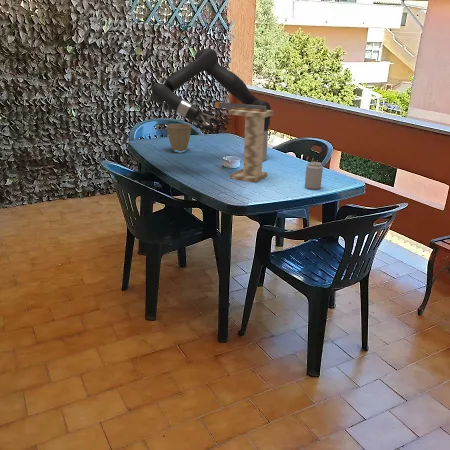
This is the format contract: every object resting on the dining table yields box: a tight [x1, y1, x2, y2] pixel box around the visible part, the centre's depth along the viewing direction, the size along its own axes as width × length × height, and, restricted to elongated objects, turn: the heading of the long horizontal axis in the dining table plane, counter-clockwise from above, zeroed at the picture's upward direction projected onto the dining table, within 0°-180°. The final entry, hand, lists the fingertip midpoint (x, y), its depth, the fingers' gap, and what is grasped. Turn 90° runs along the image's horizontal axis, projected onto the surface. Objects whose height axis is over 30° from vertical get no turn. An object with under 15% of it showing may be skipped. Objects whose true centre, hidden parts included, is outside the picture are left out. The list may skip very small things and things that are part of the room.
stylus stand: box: [228, 107, 275, 184], centre depth 222 cm, size 18×14×34 cm
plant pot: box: [166, 123, 192, 151], centre depth 276 cm, size 15×15×16 cm
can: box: [304, 161, 324, 191], centre depth 212 cm, size 8×8×12 cm
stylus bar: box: [214, 101, 266, 112], centre depth 218 cm, size 26×2×2 cm, turn 63°
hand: (216, 127), depth 224 cm, fingers open, 8 cm apart
